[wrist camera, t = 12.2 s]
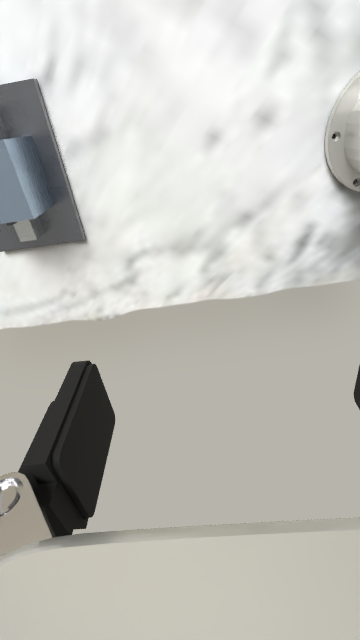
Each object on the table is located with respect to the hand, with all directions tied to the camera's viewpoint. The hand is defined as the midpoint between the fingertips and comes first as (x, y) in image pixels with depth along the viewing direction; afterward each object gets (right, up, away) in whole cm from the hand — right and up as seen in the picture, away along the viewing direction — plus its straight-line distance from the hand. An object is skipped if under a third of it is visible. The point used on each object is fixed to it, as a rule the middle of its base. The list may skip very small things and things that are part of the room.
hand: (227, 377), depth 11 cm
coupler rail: (-20, +18, +25) cm, 37 cm away
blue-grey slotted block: (-20, +18, +24) cm, 36 cm away
